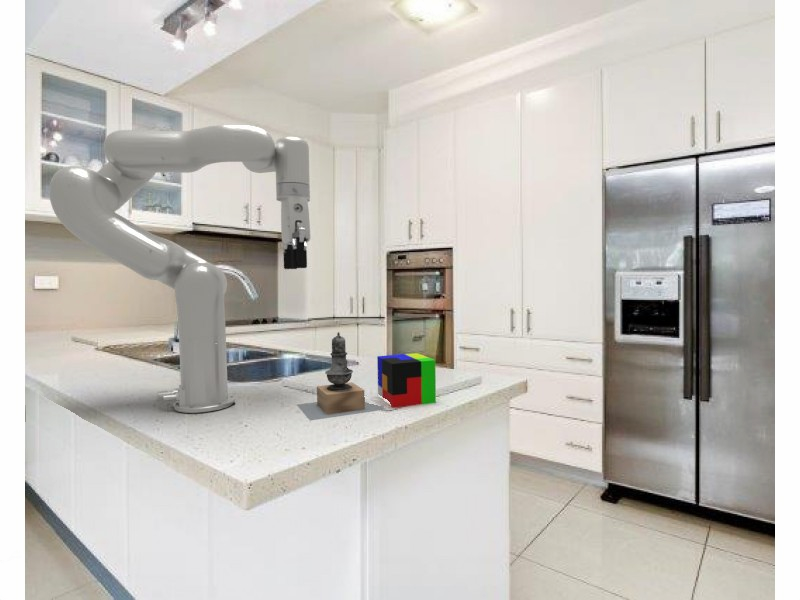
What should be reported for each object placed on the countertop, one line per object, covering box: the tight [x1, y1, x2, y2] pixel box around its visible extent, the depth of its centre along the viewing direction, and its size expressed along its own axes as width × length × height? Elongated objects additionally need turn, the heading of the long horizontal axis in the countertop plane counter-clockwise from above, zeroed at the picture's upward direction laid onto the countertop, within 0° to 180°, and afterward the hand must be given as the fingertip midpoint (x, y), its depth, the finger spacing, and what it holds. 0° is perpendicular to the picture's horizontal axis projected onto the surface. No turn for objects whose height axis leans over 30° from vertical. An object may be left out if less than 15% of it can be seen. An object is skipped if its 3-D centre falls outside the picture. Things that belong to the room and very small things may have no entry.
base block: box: [316, 381, 365, 415], centre depth 96 cm, size 8×8×4 cm
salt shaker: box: [325, 331, 354, 391], centre depth 95 cm, size 6×6×12 cm
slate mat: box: [296, 401, 386, 421], centre depth 96 cm, size 16×12×1 cm
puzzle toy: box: [376, 352, 437, 409], centre depth 101 cm, size 10×10×10 cm
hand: (295, 268), depth 104 cm, fingers open, 9 cm apart
